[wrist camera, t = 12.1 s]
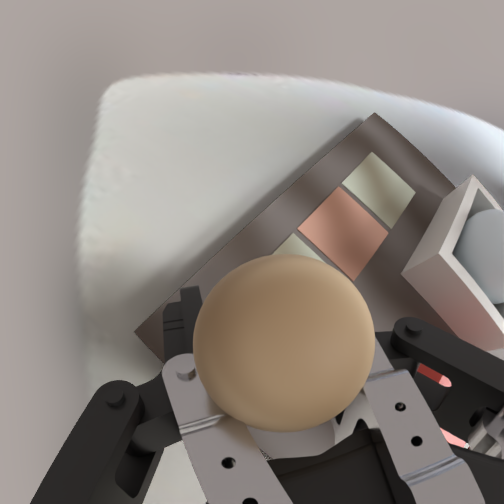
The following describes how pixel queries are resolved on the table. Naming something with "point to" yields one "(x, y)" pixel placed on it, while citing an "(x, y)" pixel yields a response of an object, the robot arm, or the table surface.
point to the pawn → (284, 343)
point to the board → (340, 242)
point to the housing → (456, 270)
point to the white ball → (484, 252)
